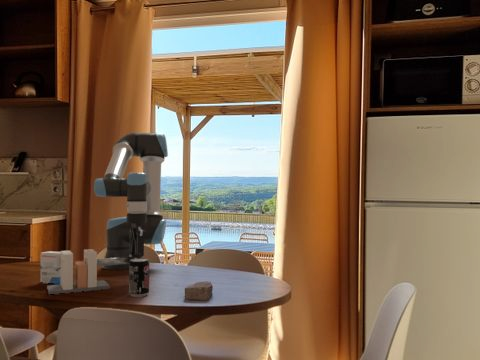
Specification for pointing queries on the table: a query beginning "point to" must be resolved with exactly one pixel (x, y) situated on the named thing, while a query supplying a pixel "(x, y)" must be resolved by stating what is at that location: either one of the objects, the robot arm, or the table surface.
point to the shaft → (115, 260)
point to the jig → (67, 274)
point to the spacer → (80, 274)
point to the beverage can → (138, 277)
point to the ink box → (50, 267)
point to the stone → (199, 291)
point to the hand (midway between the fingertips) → (136, 273)
